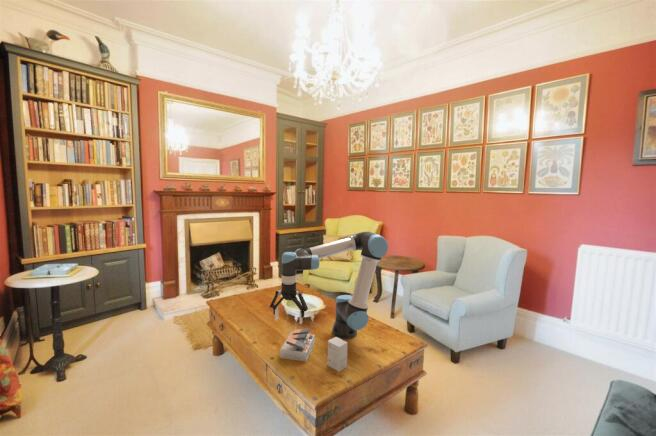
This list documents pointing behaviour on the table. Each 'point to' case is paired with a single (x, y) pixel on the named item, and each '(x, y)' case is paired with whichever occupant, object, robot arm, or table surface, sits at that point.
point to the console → (298, 349)
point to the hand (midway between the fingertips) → (288, 321)
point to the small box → (337, 354)
